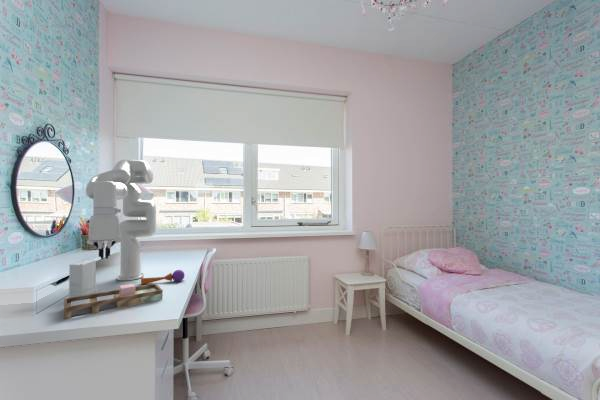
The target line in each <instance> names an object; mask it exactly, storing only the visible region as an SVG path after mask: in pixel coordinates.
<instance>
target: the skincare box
mask: <svg viewBox="0 0 600 400" xmlns="http://www.w3.org/2000/svg"><path fill="white" fill-rule="evenodd" d="M68 272H69V273H68V274H69V277H68V279H69V280H68V283H69V284H68V286H69V288H68V298H71V297H77V296H83V295H89V294H95V293H97V292H96V286H97V285H96V284H97V283H96V282H97V260H90V259H89V260H87V259H83V260H80V261H78V262H74V263H70V264H69V271H68Z"/></svg>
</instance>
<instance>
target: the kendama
mask: <svg viewBox="0 0 600 400" xmlns="http://www.w3.org/2000/svg"><path fill="white" fill-rule="evenodd" d="M184 278H185V273H184V271H183V270H181V269H176V270H175V271H173V272H170V273H169V274H167V275H165V276H161V277H160V276H159V277H142V278H140V284H141V285H140V286H143V285H149V284H152V283H155V282H159V281H161V280H167V281H170V282H173V281H174V282H175V283H176V282H182V281H183V280H184Z"/></svg>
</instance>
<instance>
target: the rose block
mask: <svg viewBox="0 0 600 400" xmlns="http://www.w3.org/2000/svg"><path fill="white" fill-rule="evenodd" d="M136 287H137V286H136V285H135V284H134V283H129V284H121V285H119V289H120V291H119V295H120V297H123V296H128V295H134V294H135V288H136Z"/></svg>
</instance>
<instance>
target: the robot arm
mask: <svg viewBox="0 0 600 400" xmlns="http://www.w3.org/2000/svg"><path fill="white" fill-rule="evenodd" d="M153 179H154V173H153V170H152V168H151V166H150V165H149V163H148V162H147V161H145V160H142V159H140V160H139V159H121V160H118V161H117V162H116V163H115V166H114V165H113V168H112V169H111V170H108V171H104V172H101V173H99V174H96V175H94V176H93V177H92V178H90V180H89V181H88V183H87V184H86V187H85V194H86V196H87V197H88V198H89V199H91V200H93V203H92V204H93V205H92V206H93V211H92V212H93V213H92V215H90V217H89V223H88V235H87V236H88V237H87V238H88V239H87V241H86V244H87V245H92V246H95V247H96V248H98V257H100V259H101V260H103V259H104V257H105V259H107V260H108V259H109V257H110V256H111V248H112V247H113V246H114V245H115V244H118V243H120V256H119V257H120V261H119V263H120V265H119V267H120V268H119V269H120V270H119V275H117V276H116V280H117V281H123V282H124V281H134V280H138V279H141V278H144V275H145V274H144V273H143V272H141V271H142V269H141V265H142V264H141V262H142V260H141V259H142V244H141V242H140V241H139V240H138V239H137V238H148V237H149V238H150V237H153V236H154V235H155V233H156V228H157V227H156V226H157V224H156V223H157V222H156V221H157V209H156V208H157V207H156V203H155V202H154V201H153V200H147V199H146V200H145V199H142V191H141V189H140V188H139V186H138V185H137V184H140V185H141V184H143V185H144V184H145V185H147V184H148V185H149V184H151V183H152V182H153ZM119 200H122V209H121V208H117V201H119ZM121 210H122V211H121ZM121 212H122V213H123V215H124V217H126V218H145V219H126V220H122V221H121V222H120V217H119V215H118V214H119V213H121ZM105 241H107V244H106V247H105V249H104V247H103V243H102V242H105ZM104 250H105V251H104ZM104 252H105V254H104Z"/></svg>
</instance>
